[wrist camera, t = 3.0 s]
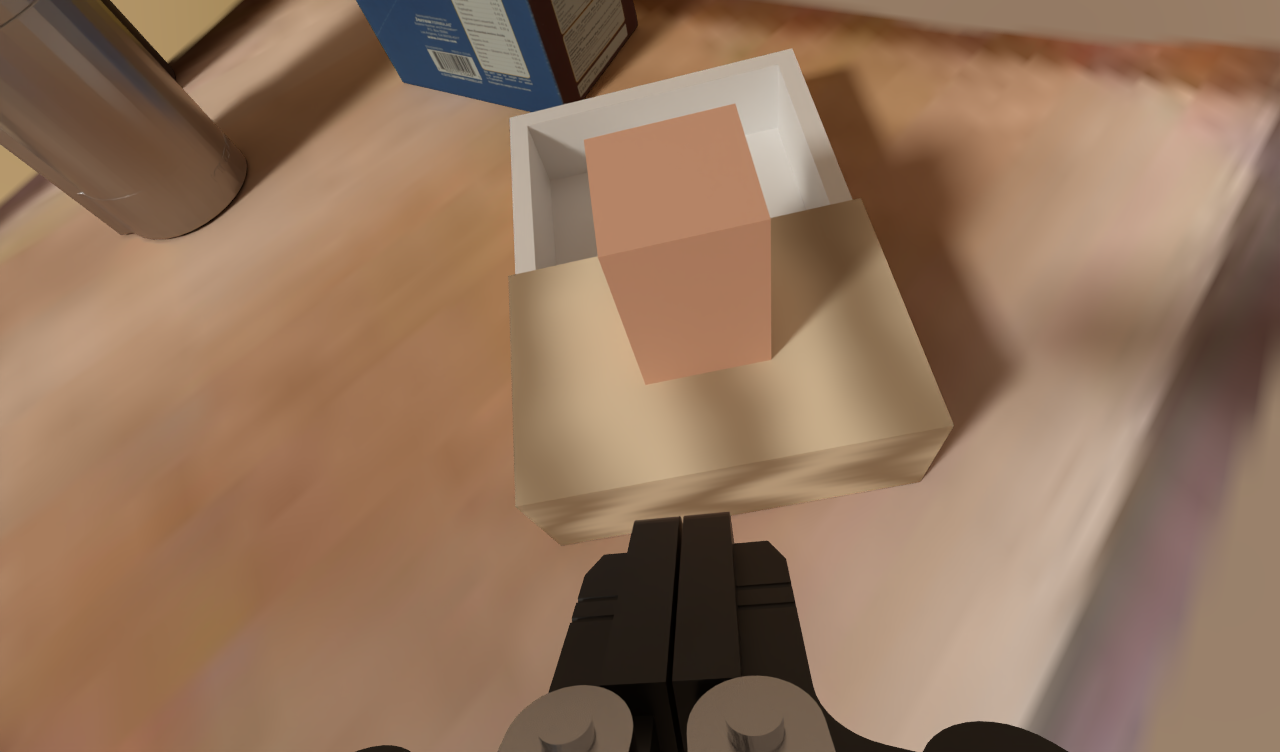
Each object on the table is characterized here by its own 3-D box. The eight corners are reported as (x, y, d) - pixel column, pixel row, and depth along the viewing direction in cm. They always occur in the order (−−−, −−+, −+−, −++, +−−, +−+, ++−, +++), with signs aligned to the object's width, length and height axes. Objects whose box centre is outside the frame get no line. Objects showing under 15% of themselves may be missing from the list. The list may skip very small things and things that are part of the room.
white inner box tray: (547, 340, 35) (515, 285, 30) (537, 182, 41) (509, 117, 36) (846, 277, 33) (856, 210, 29) (790, 123, 39) (792, 48, 35)
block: (645, 384, 25) (597, 257, 18) (630, 285, 28) (583, 139, 21) (771, 359, 25) (770, 219, 18) (744, 260, 27) (735, 103, 20)
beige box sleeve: (561, 545, 29) (515, 506, 24) (548, 343, 35) (508, 276, 29) (919, 482, 28) (954, 425, 22) (847, 280, 33) (860, 197, 28)
